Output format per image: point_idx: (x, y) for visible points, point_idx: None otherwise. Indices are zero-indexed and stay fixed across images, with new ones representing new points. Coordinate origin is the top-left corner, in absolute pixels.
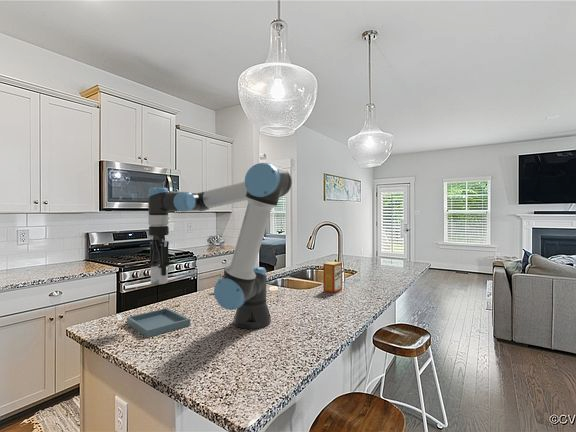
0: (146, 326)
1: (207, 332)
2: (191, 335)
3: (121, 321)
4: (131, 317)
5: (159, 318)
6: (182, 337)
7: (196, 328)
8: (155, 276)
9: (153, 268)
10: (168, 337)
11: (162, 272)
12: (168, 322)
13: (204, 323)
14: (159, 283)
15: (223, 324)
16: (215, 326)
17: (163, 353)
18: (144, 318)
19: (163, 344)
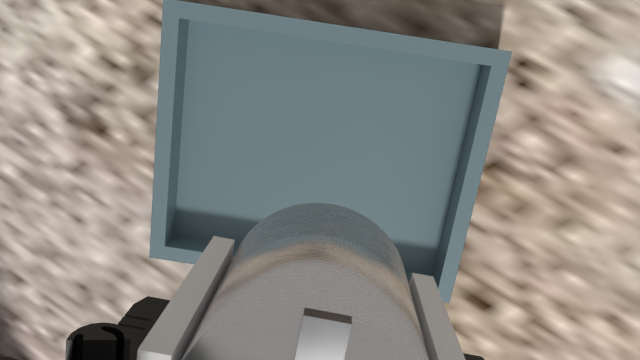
0: (321, 82)
1: (11, 231)
2: (33, 161)
3: (566, 50)
4: (488, 74)
5: (382, 202)
6: (42, 119)
7: (100, 234)
8: (253, 253)
9: (262, 300)
10: (96, 75)
11: (123, 320)
12: (276, 193)
13: (132, 300)
14: (225, 240)
15: (48, 340)
16: (54, 302)
17: None
18: (462, 151)
19: (27, 4)
